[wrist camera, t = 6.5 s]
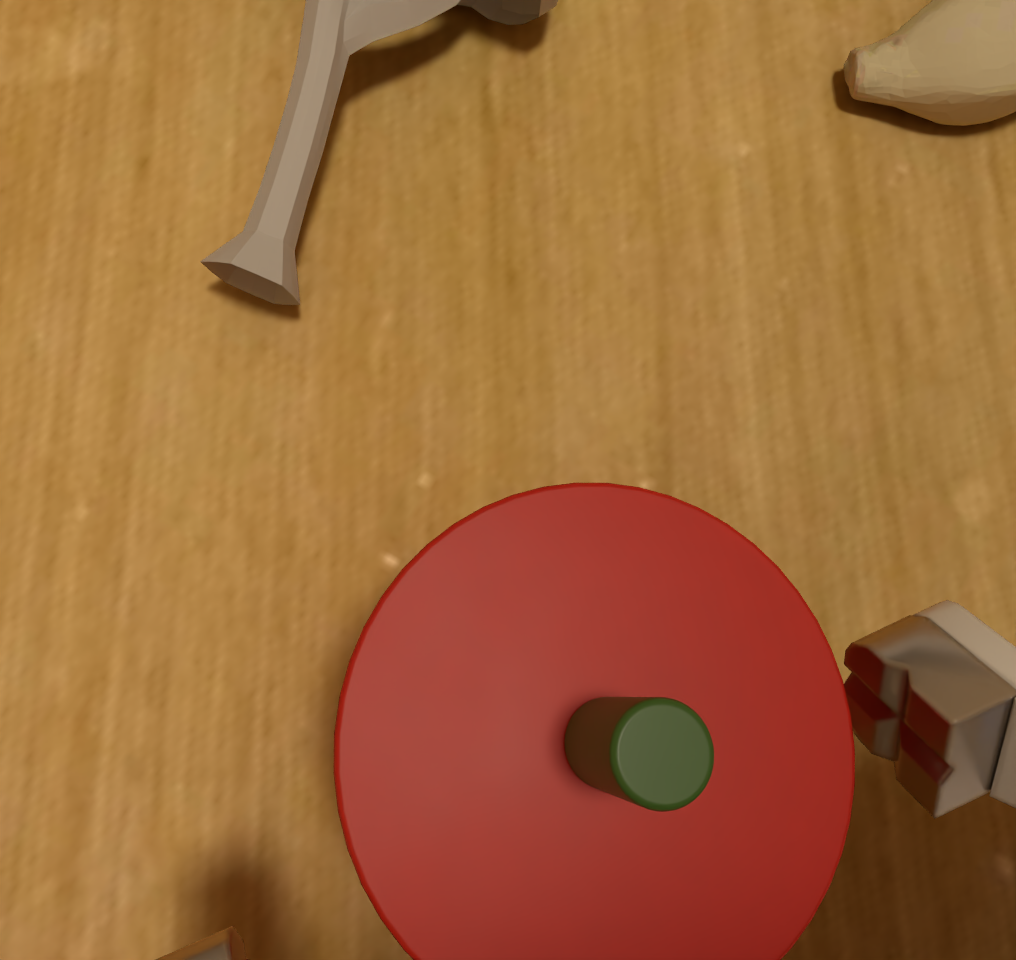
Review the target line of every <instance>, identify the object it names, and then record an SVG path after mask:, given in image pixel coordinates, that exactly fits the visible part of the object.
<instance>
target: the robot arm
mask: <svg viewBox="0 0 1016 960" xmlns="http://www.w3.org/2000/svg"><path fill="white" fill-rule="evenodd" d="M844 665H845V666H846V667H847V668H848V669H849V670H850V671H851V672H852V673H851V674H850V676H849V677H848V679H847V680H846V682H845V683H844V688H845V692H846V697H847V701H848V705H849V710H850V714H851V721H852V730H853V732H854V734H855V735H856V737H857V738H858V740H859V741H860V742H861V743H862V744H863V745H864V746H865V747H866V748H867V749H868V750H869V751H870V752H871V754H874V755H877V756H880V757H882V758H885V759H888V760H891V761H893V762H894V767H895V774H896V780H897V781H898V782H899V783H900V784H901V785H902V786H903V787H904V788H905V789H906V790H907V791H908V792H909V793H910V794H911V795H912V796H913V797H914V798H915V799H916V800H917V801H918V802H919V803H920V804H921V805H922V806H923V807H924V808H925V809H926V810H927V811H928V812H929V813H930V815H931V816H932V817H933V818H934V819H935V818H937V817H939V816H941V815H944V814H946V813H948V812H950V811H952V810H954V809H956V808H958V807H960V806H962V805H964V804H966V803H968V802H970V801H972V800H974V799H977V798H979V797H981V796H983V795H985V794H987V793H989V792H990V797H992V798H995V799H997V800H999V801H1001V802H1003V803H1005V804H1008V805H1010V806H1012V807H1014V808H1016V647H1015V646H1014V645H1012V644H1011V643H1010V642H1008V641H1007V640H1006V639H1004V638H1003V637H1002V636H1000V635H999V634H998V633H996V632H995V631H994V630H993V629H991V628H990V627H989V626H987V625H986V624H985V623H983V622H982V621H981V620H979V619H978V618H977V617H975V616H974V615H973V614H971V613H970V612H969V611H967V610H966V609H965V608H964V607H962V606H961V605H959V604H958V603H955V602H952V601H948V600H946V601H943V602H939V603H937V604H935V605H933V606H931V607H929V608H927V609H924V610H922V611H920V612H918V613H916V614H914V615H909V616H907V617H905V618H903V619H901V620H899V621H896V622H894V623H892V624H890V625H888V626H886V627H884V628H882V629H880V630H878V631H876V632H873V633H871V634H869V635H867V636H865V637H863V638H861V639H859V640H857V641H855V642H852V643H851V644H850V646H849V647H848V648H847V649H846V650H845V659H844ZM156 960H248V959H246V953H245V947H244V942H243V939H242V938H241V936H240V935H239V933H238V932H237V931H236V929H235V928H234V926H231V927H228V928H226V929H224V930H222V931H219V932H217V933H215V934H212V935H210V936H208V937H206V938H203V939H201V940H199V941H197V942H194V943H192V944H190V945H188V946H185V947H183V948H181V949H178V950H176V951H174V952H172V953H169V954H167V955H165V956H163V957H160V958H158V959H156Z"/></svg>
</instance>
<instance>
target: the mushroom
mask: <svg viewBox="0 0 1016 960" xmlns="http://www.w3.org/2000/svg"><path fill="white" fill-rule="evenodd" d="M557 2H558V0H306V4H305V11H304V18H303V24H302V31H301V37H300V44H299V50H298V56H297V63H296V67H295V71H294V75H293V79H292V83H291V87H290V91H289V95H288V99H287V103H286V106H285V109H284V113H283V116H282V120H281V123H280V126H279V130H278V133H277V136H276V140H275V143H274V146H273V149H272V152H271V155H270V158H269V161H268V164H267V167H266V170H265V174H264V177H263V180H262V183H261V186H260V189H259V191H258V194H257V196H256V199H255V202H254V204H253V207H252V209H251V212H250V215H249V217H248V220H247V222H246V225H245V228H244V230H243V232H241V233H240V234H239V235H237V236H236V237H234V238H233V239H231V240H230V241H229V242H227V243H226V244H224V245H223V246H222V247H220V248H219V249H217V250H216V251H215V252H213V253H212V254H210V255H209V256H208V257H206V258H205V259H203V260H202V261H201V263H202V264H203V265H205V266H206V267H207V268H208V269H209V270H210V271H211V272H212V273H214V274H215V275H216V276H218V277H219V278H220V279H222V280H223V281H224V282H226V283H227V284H230V285H232V286H234V287H236V288H238V289H241V290H243V291H245V292H247V293H249V294H252V295H254V296H257V297H259V298H261V299H264V300H266V301H269V302H271V303H273V304H283V305H300V298H299V289H298V279H297V270H296V260H295V247H296V244H297V240H298V236H299V232H300V228H301V224H302V221H303V217H304V213H305V209H306V205H307V202H308V199H309V195H310V192H311V189H312V186H313V183H314V179H315V176H316V173H317V170H318V167H319V163H320V160H321V157H322V154H323V150H324V146H325V142H326V139H327V135H328V131H329V128H330V124H331V120H332V117H333V113H334V109H335V106H336V102H337V98H338V95H339V91H340V88H341V84H342V80H343V77H344V73H345V69H346V66H347V62H348V58H349V55H351V54H353V53H354V52H356V51H358V50H359V49H361V48H363V47H364V46H366V45H368V44H370V43H371V42H373V41H376V40H379V39H382V38H385V37H387V36H390V35H393V34H396V33H399V32H402V31H405V30H407V29H410V28H413V27H416V26H419V25H421V24H423V23H424V22H426V21H428V20H430V19H432V18H434V17H436V16H437V15H439V14H441V13H443V12H445V11H447V10H448V9H450V8H452V7H454V6H456V5H462V6H469V7H472V8H473V9H475V10H476V11H478V12H479V13H480V14H482V15H483V16H485V17H486V18H488V19H489V20H493V21H496V22H500V23H504V24H507V25H515V24H524V23H527V22H529V21H531V20H533V19H536V18H538V17H540V16H541V15H543V14H544V13H546V12H547V11H549V10H551V9H552V8H554V7H555V6H556V5H557Z"/></svg>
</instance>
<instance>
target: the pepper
mask: <svg viewBox="0 0 1016 960" xmlns="http://www.w3.org/2000/svg"><path fill="white" fill-rule="evenodd" d="M334 780H335V789H336V798H337V806H338V813H339V817H340V821H341V825H342V829H343V833H344V837H345V841H346V845H347V849H348V851H349V854H350V857H351V859H352V862H353V864H354V867H355V869H356V872H357V874H358V877H359V879H360V882H361V885H362V886H363V888H364V890H365V892H366V894H367V895H368V897H369V899H370V901H371V903H372V904H373V906H374V908H375V910H376V912H377V913H378V915H379V917H380V919H381V920H382V921H383V923H384V924H385V925H386V927H387V928H388V930H389V931H390V932H391V934H392V935H393V936H394V938H395V939H396V940H397V942H398V943H399V944H400V946H401V947H402V948H403V950H404V951H405V952H406V953H407V954H408V955H409V956H410V957H411V958H412V959H413V960H781V959H782V958H783V957H784V956H785V954H786V953H787V952H788V951H789V950H790V949H791V948H792V947H793V945H794V944H795V942H796V941H797V940H798V938H799V937H800V935H801V934H802V933H803V931H804V930H805V929H806V927H807V926H808V924H809V923H810V922H811V920H812V919H813V917H814V915H815V913H816V911H817V909H818V907H819V906H820V904H821V902H822V900H823V898H824V896H825V894H826V892H827V891H828V889H829V887H830V884H831V881H832V879H833V876H834V874H835V871H836V868H837V866H838V863H839V860H840V858H841V855H842V852H843V848H844V844H845V840H846V835H847V831H848V827H849V823H850V819H851V810H852V802H853V794H854V786H855V748H854V739H853V730H852V721H851V714H850V710H849V705H848V701H847V697H846V692H845V688H844V684H843V680H842V677H841V675H840V672H839V669H838V666H837V664H836V661H835V658H834V655H833V652H832V650H831V648H830V646H829V644H828V641H827V639H826V637H825V635H824V633H823V631H822V629H821V627H820V625H819V623H818V621H817V619H816V618H815V616H814V615H813V613H812V612H811V610H810V608H809V607H808V605H807V604H806V602H805V601H804V599H803V598H802V596H801V595H800V593H799V592H798V590H797V589H796V588H795V587H794V585H793V584H792V583H791V582H790V581H789V579H788V578H787V577H786V576H785V575H784V573H783V572H782V571H781V570H780V569H779V567H778V566H777V565H776V564H775V563H774V562H773V561H772V560H770V559H769V558H768V557H767V556H766V555H765V554H764V553H763V552H762V551H761V550H760V549H759V548H758V547H757V546H756V545H755V544H754V543H752V542H751V541H750V540H748V539H747V538H746V537H744V536H743V535H742V534H740V533H739V532H738V531H736V530H735V529H733V528H732V527H731V526H729V525H728V524H727V523H725V522H723V521H721V520H720V519H718V518H716V517H714V516H713V515H711V514H709V513H707V512H706V511H704V510H702V509H700V508H698V507H696V506H693V505H691V504H689V503H686V502H684V501H681V500H679V499H677V498H674V497H672V496H669V495H665V494H662V493H658V492H654V491H651V490H647V489H643V488H640V487H633V486H626V485H619V484H611V483H570V484H562V485H554V486H546V487H541V488H537V489H533V490H530V491H526V492H522V493H518V494H514V495H511V496H509V497H506V498H504V499H502V500H499V501H497V502H494V503H492V504H489V505H487V506H485V507H482V508H481V509H479V510H477V511H475V512H474V513H472V514H470V515H468V516H467V517H465V518H463V519H461V520H460V521H458V522H456V523H454V524H453V525H452V526H450V527H449V528H448V529H446V530H445V531H444V532H443V533H441V534H440V535H439V536H437V537H436V538H435V539H433V540H432V541H431V542H430V543H428V544H427V545H426V546H425V547H424V548H423V549H422V550H421V551H420V552H419V553H418V554H417V555H416V556H415V557H414V558H413V559H412V560H411V561H410V562H409V563H408V564H407V565H406V566H405V567H404V568H403V569H402V570H401V572H400V573H399V574H398V576H397V577H396V578H395V579H394V581H393V582H392V583H391V585H390V586H389V587H388V589H387V590H386V591H385V592H384V594H383V595H382V596H381V598H380V600H379V602H378V603H377V605H376V607H375V608H374V610H373V612H372V614H371V615H370V617H369V619H368V620H367V622H366V624H365V626H364V627H363V630H362V632H361V635H360V637H359V639H358V642H357V644H356V646H355V649H354V651H353V654H352V656H351V658H350V661H349V664H348V668H347V671H346V675H345V679H344V682H343V686H342V690H341V693H340V697H339V704H338V711H337V718H336V725H335V732H334Z"/></svg>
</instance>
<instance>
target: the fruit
mask: <svg viewBox="0 0 1016 960" xmlns="http://www.w3.org/2000/svg"><path fill="white" fill-rule="evenodd" d="M844 76H845V81H846V83H847V85H848V87H849V92H850V95H851V96H852V98H854V99H855V100H860V101H866V102H873V103H878V104H883V105H888V106H893V107H896V108H899V109H901V110H903V111H906V112H908V113H911V114H914V115H916V116H919V117H922V118H925V119H928V120H930V121H933V122H935V123H939V124H944V125H960V126H966V125H973V124H981V123H986V122H990V121H993V120H996V119H999V118H1001V117H1004V116H1007V115H1009V114H1011V113H1014V112H1016V0H933V1H931V2H930V3H929V4H928V5H926V6H925V7H924V8H923V9H921V10H920V11H919V12H918V13H917V14H916V15H915V16H913V17H912V18H911V19H910V20H909V21H908V22H906V23H905V24H904V25H903V26H902V27H901V28H900V29H898V30H897V31H896V32H895V33H893V34H892V35H890V36H888V37H887V38H884V39H882V40H880V41H878V42H875V43H873V44H870V45H868V46H864V47H860V48H855V49H853V50H852V51H851V52H850V54H849V56H848V58H847V60H846V62H845V64H844Z"/></svg>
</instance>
